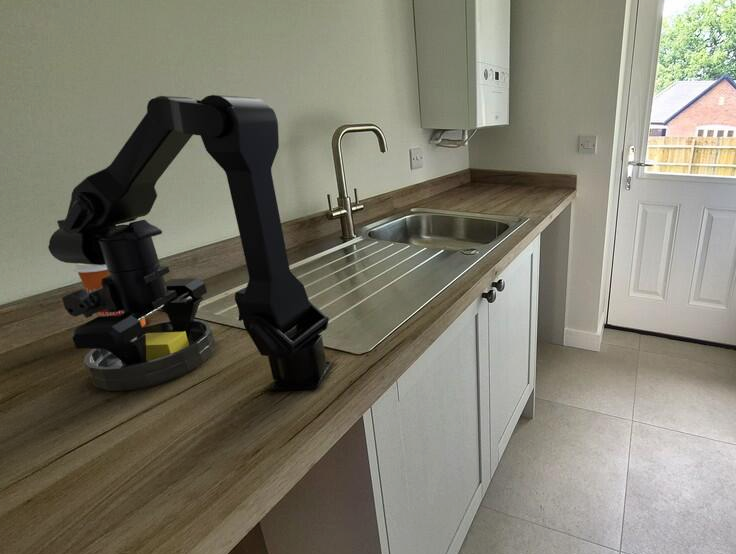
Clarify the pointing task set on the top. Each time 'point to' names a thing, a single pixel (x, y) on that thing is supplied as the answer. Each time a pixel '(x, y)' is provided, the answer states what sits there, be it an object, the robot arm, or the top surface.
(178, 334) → the sponge
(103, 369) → the pan
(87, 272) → the paper cup
